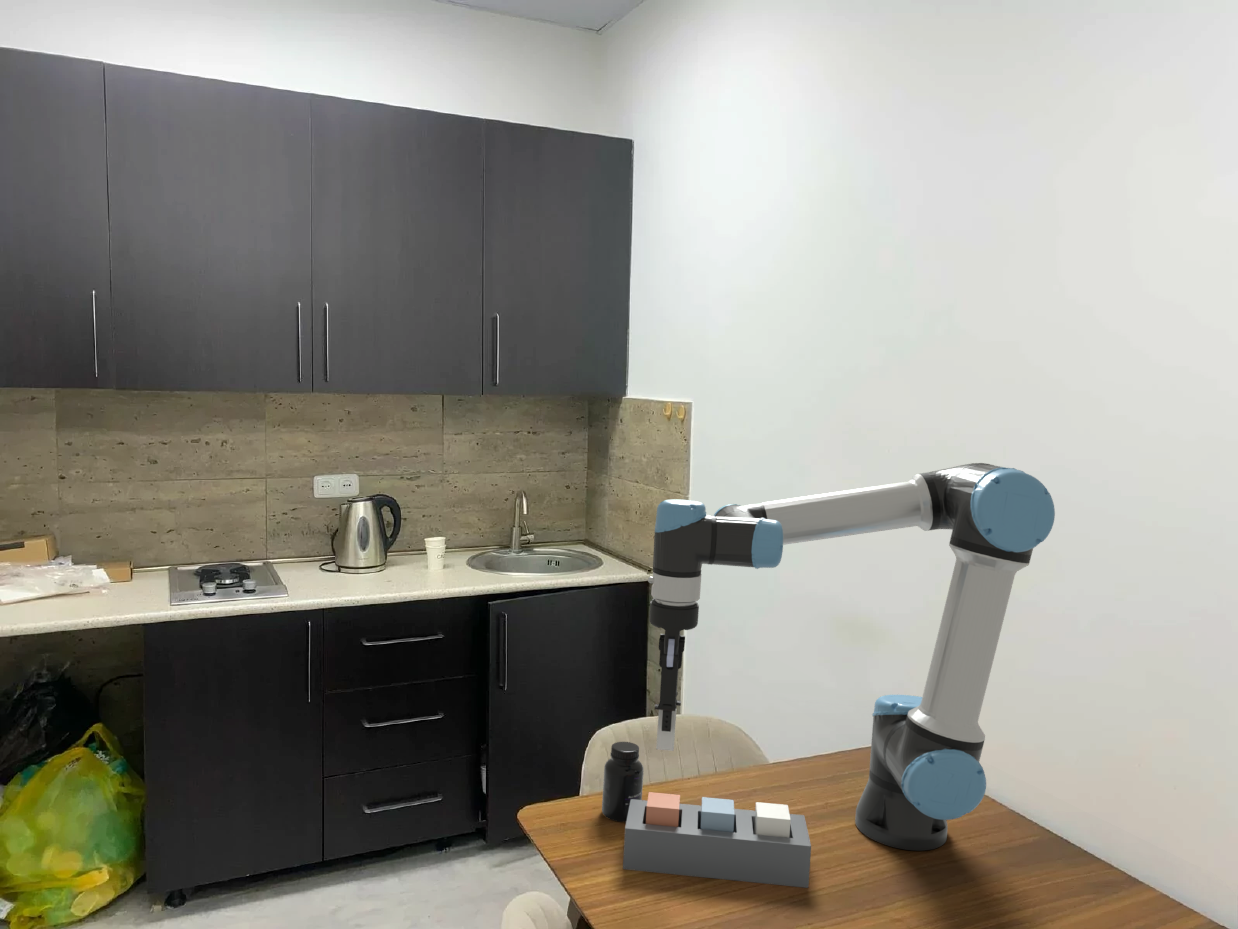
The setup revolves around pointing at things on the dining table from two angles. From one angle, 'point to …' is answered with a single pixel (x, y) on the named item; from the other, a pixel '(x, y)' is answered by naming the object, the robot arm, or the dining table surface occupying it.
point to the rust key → (663, 809)
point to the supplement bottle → (622, 780)
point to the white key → (772, 820)
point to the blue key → (717, 814)
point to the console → (717, 848)
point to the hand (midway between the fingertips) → (665, 748)
